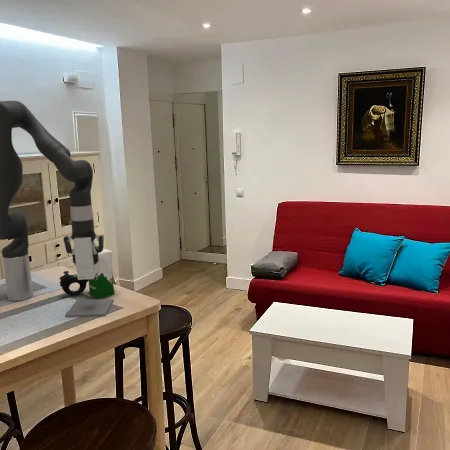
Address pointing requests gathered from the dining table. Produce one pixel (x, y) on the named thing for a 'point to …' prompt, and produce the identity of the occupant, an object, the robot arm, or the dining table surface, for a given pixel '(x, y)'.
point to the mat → (90, 308)
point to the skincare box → (84, 258)
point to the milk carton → (102, 276)
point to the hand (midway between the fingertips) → (86, 263)
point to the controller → (68, 280)
